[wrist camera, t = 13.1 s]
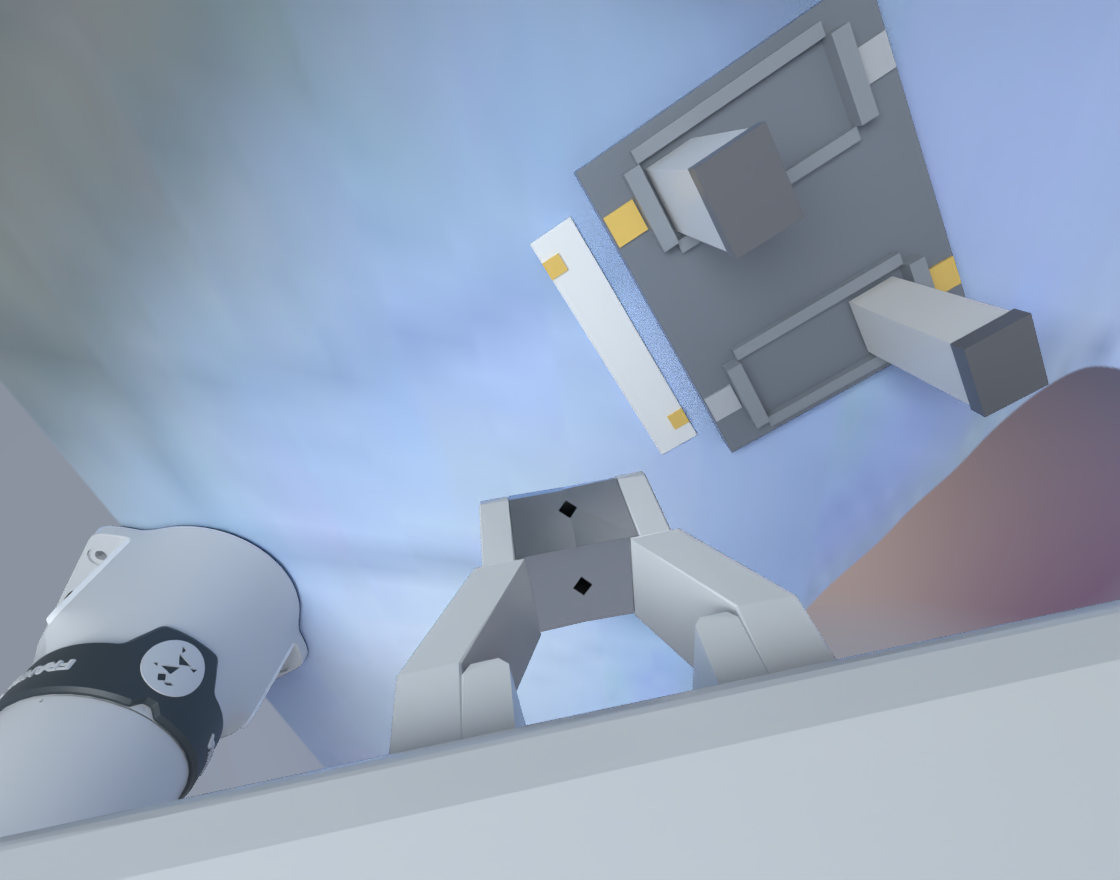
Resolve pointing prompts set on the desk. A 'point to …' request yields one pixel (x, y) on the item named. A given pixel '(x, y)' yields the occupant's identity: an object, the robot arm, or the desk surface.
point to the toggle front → (727, 189)
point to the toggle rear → (952, 342)
